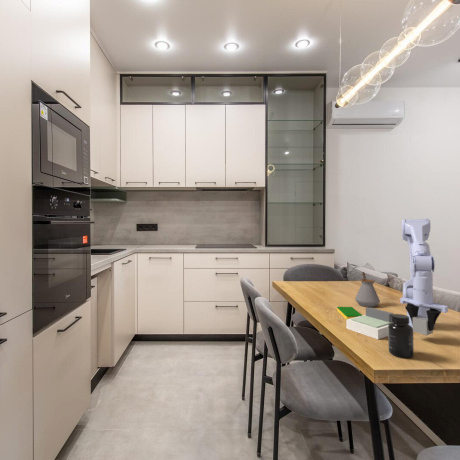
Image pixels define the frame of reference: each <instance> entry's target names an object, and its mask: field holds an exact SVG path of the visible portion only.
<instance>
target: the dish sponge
mask: <svg viewBox="0 0 460 460" xmlns="http://www.w3.org/2000/svg"><path fill="white" fill-rule="evenodd" d="M336 311H337V312H338V314H340V315H341V316H342V317H343V318H344V319H345V321H346V320H347V319H351V318H355V317H359V316H362V315H363V314H362V313H360V312H359V311H358V310H357V309H355V308H354V307H352V306H337V307H336Z"/></svg>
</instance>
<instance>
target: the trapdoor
mask: <svg viewBox="0 0 460 460" xmlns="http://www.w3.org/2000/svg"><path fill="white" fill-rule="evenodd" d="M393 314H394V313H393V312H390V311H386V310H381V309H377V308H375V307H365V314H364V315H365V316H361V317H357V318H353V319H352V321H355V322H358V323H362V324H365V325H368V326H371V327H374V328H380V327H383V326H386V325H389V324H390V323H392V321H391V315H393Z"/></svg>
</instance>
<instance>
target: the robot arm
mask: <svg viewBox="0 0 460 460" xmlns="http://www.w3.org/2000/svg"><path fill="white" fill-rule="evenodd" d="M430 232H431V219H429V218H414V219H413V218H411V219H410V218H409V219H408V218H407V219H406V218H403V219H402V220H401V237H402V240H403V241H405V242H407V245H408V251H409V253H408V255H409V273H410V274H409V275H410V278H409V279H408V280H406V281H405V282H404V283H403V285H402V297H400V298H399V302H400V304H401V305H402V304H406V306H405V310H406V316H408V317H409V325H410V326H411V327H412V328H413V317H415V316H418V315H420V316H424V317H428V330H429V331H432V330H433V331H434V328H435V327H436V322H437V321H438V318H439V316H440V315H441V314H442V313H444V314H447V313H448V312H449V306H448V305H444V304H439V303H436V302H434V292H433V291H434V290H433V282H434V281H433V280H434V279H433V277H434V275H433V273H435V269H436V264H435V263H436V261H435V257H434V255H433V254H431V249H430V245H429V243H428V242H426V241H428V239H429V237H430Z"/></svg>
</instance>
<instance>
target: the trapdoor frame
mask: <svg viewBox="0 0 460 460" xmlns="http://www.w3.org/2000/svg"><path fill="white" fill-rule="evenodd" d="M361 315H362V316H365V315H366V314H361ZM359 317H361V316H359ZM355 318H357V317H355ZM352 319H353V318H351V319H347V320H346V319H345V321H346V329H347V330H350V331H353V332H355V333H359V334H362V335H364V336H367V337H370V338H373V339H376V340H381V339H383V338H386V337H387V338H388V325H386V326H383V327H380V328H374V327H371V326H368V325H365V324H362V323H358V322H355V321H352Z"/></svg>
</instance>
